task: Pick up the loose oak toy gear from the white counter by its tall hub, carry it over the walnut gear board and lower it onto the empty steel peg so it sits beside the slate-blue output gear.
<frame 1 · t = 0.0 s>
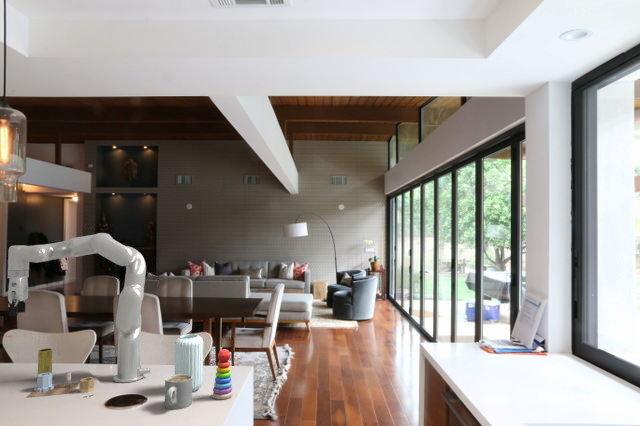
hand: (16, 314, 191), 31 cm above the kitchen island, tool pointing down, fingers open, 9 cm apart
coffee mug: (175, 406, 170), on the kitchen island
oak gear: (86, 394, 182), on the kitchen island
vase 2: (188, 389, 188), on the kitchen island
output gear: (44, 389, 184), point 1 cm above the kitchen island, touching gear board
stacking toy: (222, 397, 180), on the kitchen island
gear board: (54, 393, 183), on the kitchen island
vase: (44, 382, 197), on the kitchen island
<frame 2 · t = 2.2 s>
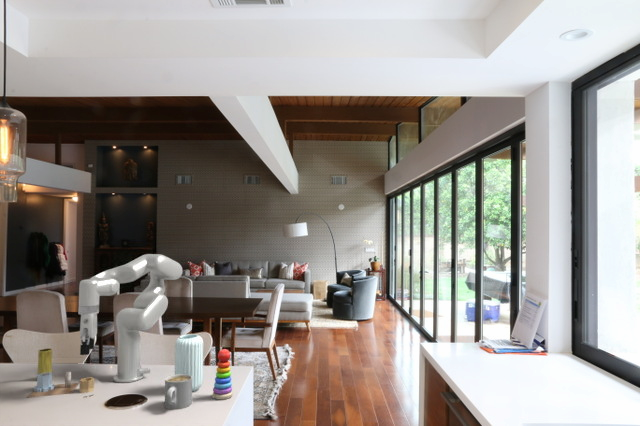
hand: (87, 351, 183), 17 cm above the kitchen island, tool pointing down, fingers open, 9 cm apart
nothing on the kitchen island moved.
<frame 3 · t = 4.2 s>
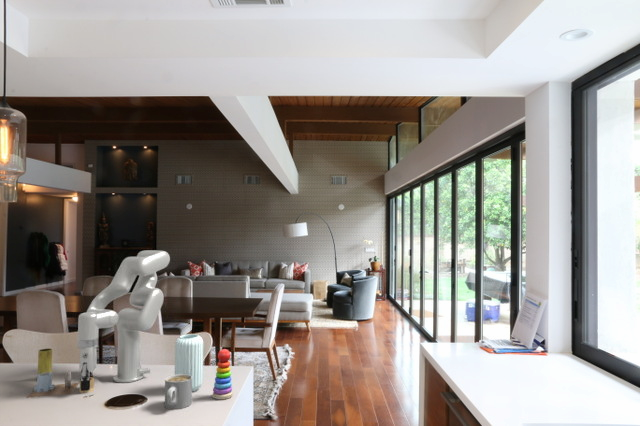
hand: (86, 387, 183), 3 cm above the kitchen island, tool pointing down, fingers closed on oak gear, 5 cm apart
oak gear: (86, 394, 182), on the kitchen island, touching gripper
everything else where it was.
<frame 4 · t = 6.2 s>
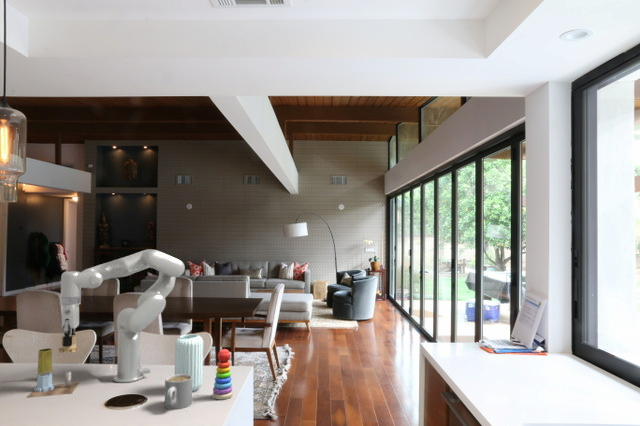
hand: (69, 344, 187), 19 cm above the kitchen island, tool pointing down, fingers closed on oak gear, 5 cm apart
oak gear: (68, 350, 187), point 17 cm above the kitchen island, touching gripper
everything else where it was.
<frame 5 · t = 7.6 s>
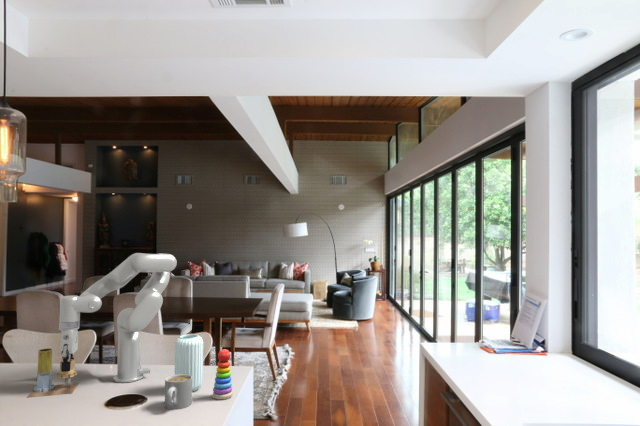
hand: (67, 368, 187), 9 cm above the kitchen island, tool pointing down, fingers closed on oak gear, 5 cm apart
oak gear: (67, 375, 187), point 6 cm above the kitchen island, touching gripper
everything else where it was.
when the fingers open (6 cm above the kitchen island, at t = 8.6 s): oak gear drops 1 cm, resting on gear board.
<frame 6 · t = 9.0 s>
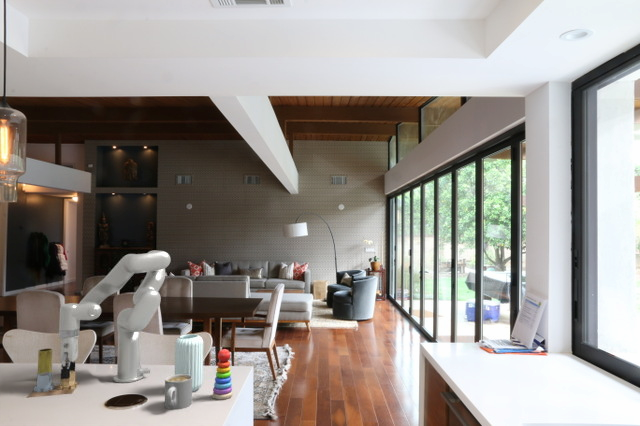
hand: (68, 375, 187), 6 cm above the kitchen island, tool pointing down, fingers open, 8 cm apart
oak gear: (67, 387, 187), point 1 cm above the kitchen island, touching gear board
everything else where it was.
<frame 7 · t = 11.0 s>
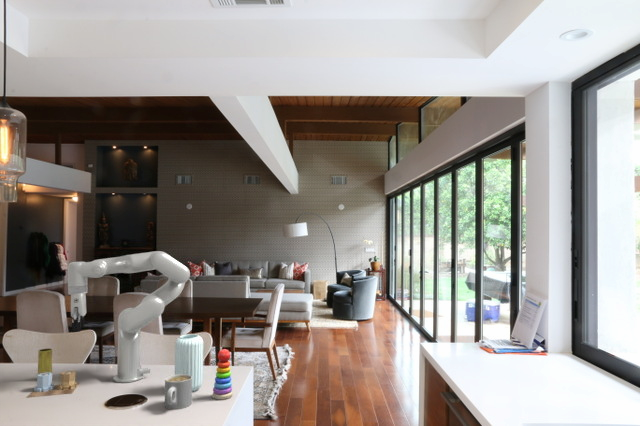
hand: (78, 329, 194), 24 cm above the kitchen island, tool pointing down, fingers open, 9 cm apart
nothing on the kitchen island moved.
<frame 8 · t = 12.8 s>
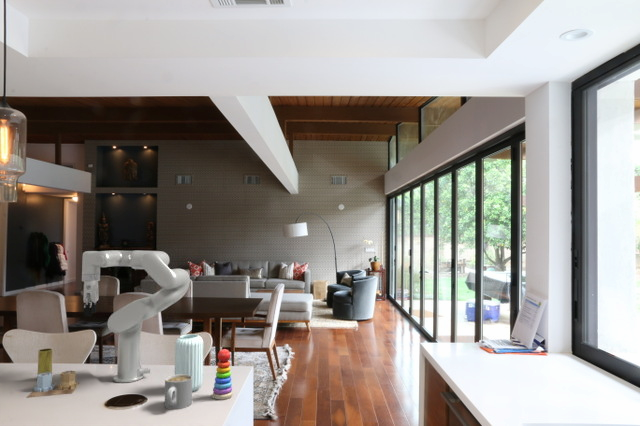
hand: (89, 314, 207), 28 cm above the kitchen island, tool pointing down, fingers open, 9 cm apart
nothing on the kitchen island moved.
at the end: oak gear 0.0 cm from the target spot on the gear board, point 1.5 cm above the gear board's base; oak gear tilted 0°; the gripper is holding nothing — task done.
